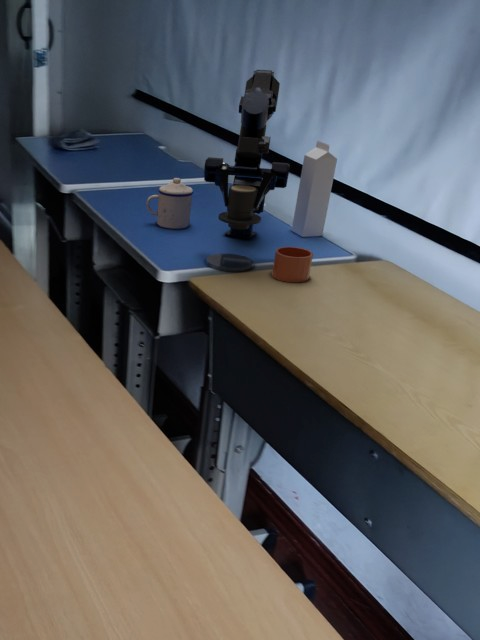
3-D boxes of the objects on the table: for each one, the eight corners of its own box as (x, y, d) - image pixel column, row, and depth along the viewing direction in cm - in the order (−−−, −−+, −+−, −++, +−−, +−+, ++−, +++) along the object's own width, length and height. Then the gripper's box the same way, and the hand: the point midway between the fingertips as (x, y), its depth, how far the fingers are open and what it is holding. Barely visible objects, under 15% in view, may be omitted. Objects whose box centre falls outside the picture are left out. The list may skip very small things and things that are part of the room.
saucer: (216, 254, 202) (216, 250, 201) (259, 262, 197) (259, 258, 197) (198, 265, 194) (199, 262, 193) (243, 274, 189) (243, 271, 189)
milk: (302, 237, 216) (318, 145, 203) (291, 230, 220) (306, 140, 208) (322, 236, 217) (340, 144, 204) (311, 229, 222) (327, 140, 209)
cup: (278, 268, 194) (282, 244, 191) (312, 274, 191) (317, 250, 187) (266, 277, 188) (270, 253, 185) (301, 284, 185) (306, 260, 182)
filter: (238, 218, 195) (243, 181, 190) (268, 228, 189) (274, 190, 184) (208, 224, 191) (213, 186, 186) (238, 235, 184) (244, 195, 180)
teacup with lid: (189, 220, 226) (193, 175, 219) (190, 230, 218) (195, 183, 211) (145, 219, 226) (148, 173, 219) (145, 228, 219) (148, 181, 212)
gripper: (210, 117, 182) (199, 182, 180) (296, 123, 179) (286, 189, 177) (209, 149, 193) (199, 210, 191) (291, 155, 190) (281, 217, 188)
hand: (240, 206), depth 186 cm, fingers closed on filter, 6 cm apart
